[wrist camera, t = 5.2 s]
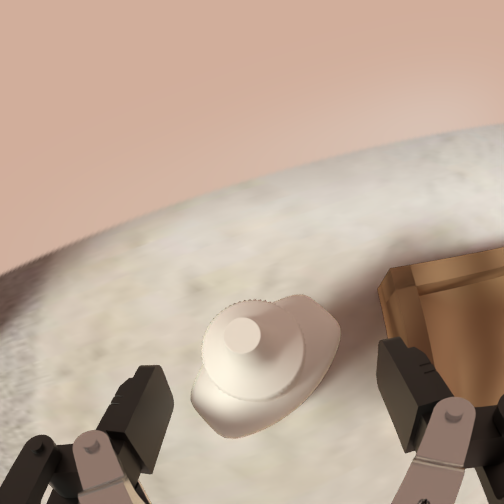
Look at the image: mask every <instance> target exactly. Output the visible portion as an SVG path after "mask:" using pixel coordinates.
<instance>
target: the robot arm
mask: <svg viewBox="0 0 504 504" xmlns="http://www.w3.org/2000/svg"><path fill="white" fill-rule="evenodd" d="M376 376H377V384H378V388H379V391H380V393H381V395H382V398H383V400H384V402H385V405H386V407H387V410H388V412H389V414H390V417H391V419H392V422H393V424H394V427H395V429H396V432H397V434H398V437H399V439H400V442H401V444H402V447H403V450H404V452H405V453H408V452H412V451H416V456H415V458H414V459H413V461H412V463H411V465H410V467H409V469H408V471H407V474H406V476H405V478H404V480H403V482H402V484H401V486H400V488H399V490H398V492H397V494H396V495H395V497H394V499H393V501H392V503H391V504H454V503H455V500H456V497H457V494H458V492H459V489H460V486H461V483H462V479H463V476H464V472H465V469H466V468H474V467H475V470H476V472H477V475H478V477H479V479H480V482H481V484H482V487H483V489H484V492H485V495H486V497H487V500H488V502H489V504H504V394H503V395H502V396H501V397H500V399H499V401H498V404H497V405H492V406H484V407H474V406H473V405H472V404H471V403H470V402H469V401H468V400H466V399H464V398H460V397H454V395H453V394H452V392H451V391H450V389H449V388H448V386H447V385H446V383H445V382H444V380H443V379H442V377H441V376H440V374H439V373H438V371H436V368H435V367H434V365H433V364H431V361H430V360H429V358H428V357H427V355H426V354H425V353H424V352H422V351H421V350H419V349H417V348H416V347H410V348H408V347H407V346H406V344H405V343H404V341H403V340H402V338H401V337H399V336H398V337H394V338H389V339H384V340H380V341H379V345H378V360H377V373H376ZM173 408H174V400H173V395H172V393H171V390H170V388H169V385H168V383H167V380H166V377H165V375H164V372H163V370H162V368H161V366H159V365H141V366H139V368H138V369H137V371H136V373H135V375H134V377H133V378H129V379H128V380H126V381H125V382H124V383H123V384H122V385H121V386H120V387H119V389H118V391H117V392H116V394H115V397H114V398H113V399H112V401H111V405H109V407H108V408H107V410H106V412H105V414H104V416H103V417H102V419H101V421H100V423H99V425H98V427H97V428H96V430H92V431H87V432H85V433H83V434H81V435H80V436H79V437H78V438H77V439H76V440H75V441H74V444H66V445H56V444H55V443H54V441H53V440H52V439H51V438H50V437H49V436H47V435H38V436H35V437H33V438H31V439H30V440H28V441H27V442H26V444H25V445H24V447H23V449H22V450H21V452H20V454H19V455H18V457H17V459H16V460H15V462H14V464H13V466H12V467H11V469H10V471H9V473H8V474H7V476H6V478H5V480H4V482H3V483H2V485H1V487H0V504H41V499H42V497H43V495H44V493H45V490H46V488H47V486H48V484H49V485H50V486H51V487H52V488H53V490H52V492H51V495H50V497H49V499H48V501H47V504H152V503H151V501H150V499H149V497H148V496H147V494H146V492H145V490H144V488H143V486H142V484H141V482H140V481H139V480H138V479H139V476H140V473H146V474H152V473H153V470H154V467H155V464H156V460H157V457H158V454H159V451H160V448H161V445H162V442H163V439H164V436H165V433H166V430H167V427H168V424H169V421H170V418H171V415H172V412H173Z"/></svg>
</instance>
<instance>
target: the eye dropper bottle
mask: <svg viewBox="0 0 504 504" xmlns="http://www.w3.org/2000/svg"><path fill="white" fill-rule="evenodd" d="M207 328H208V330H206V331H205V333H206V334H205V335H204V336H203V337H204V340H203V341H202V343H203V345H202V346H201V347H202V348H203V349H202V351H201V353H203V354H202V358H203V361H202V363H204V364H203V365H202V367H201V369H200V371H199V373H198V375H197V377H196V380H195V382H194V384H193V388H192V391H191V402H192V404H193V407H194V408H195V410H196V411H197V412H198V413H199V415H200V416H201V417H202V418H203V419H204V420H205V421H206V422H207V424H208V425H209V426H210V427H211V428H212V429H213V430H214V431H215V432H216V433H217V434H219V435H221V436H223V437H224V438H234V439H236V438H241V437H245V436H248V435H251V434H254V433H256V432H259V431H261V430H264V429H266V428H268V427H270V426H272V425H273V424H275V423H277V422H279V421H280V420H282V419H283V418H285V417H286V416H288V415H289V414H290V413H291V412H293V411H294V410H295V409H296V408H298V407H299V406H300V405H301V404H302V403H303V402H304V401H305V400H306V399H307V398H308V397H309V396H310V395H311V394H312V392H313V391H314V390H315V389H316V387H317V386H318V385H319V383H320V382H321V381H322V379H323V377H324V376H325V374H326V373H327V371H328V369H329V367H330V365H331V363H332V361H333V359H334V357H335V354H336V352H337V349H338V346H339V342H340V338H341V328H340V326H339V324H338V322H337V321H336V319H335V318H334V317H333V316H332V315H331V314H330V313H328V312H327V311H326V310H325V309H324V308H323V307H322V306H320V305H319V304H318V303H317V302H316V301H314V300H313V299H312V298H310V297H308V296H305V295H293V296H289V297H286V298H283V299H280V300H278V301H275V302H273V303H271V302H267V301H266V300H265V301H261V299H260V300H258V301H257V300H256V299H254V300H253V301H252V300H248V301H246V300H244V301H243V302H240V301H239V302H238V303H234V304H233V306H232V305H230V306H229V307H228V308H225V309H224V311H221V312H220V314H217V316H216V317H215V318H213V321H212V322H210V326H208V327H207Z"/></svg>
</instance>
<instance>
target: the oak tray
mask: <svg viewBox="0 0 504 504" xmlns="http://www.w3.org/2000/svg"><path fill="white" fill-rule="evenodd" d="M377 290H378V294H379V298H380V303H381V307H382V312H383V316H384V321H385V326H386V331H387V336H388V339H389V338H394V337H398V336H399V337H401V338H402V340H403V341H404V343H405V344H406V346H407V347H408V348H410V347H416V348H417V349H419V350H421V351H422V352H424V353H425V354H426V355H427V357H428V358H429V360H430V361H431V364H433V365H434V367H435V368H436V371H438V373H439V374H440V376H441V377H442V379H443V380H444V382H445V383H446V385H447V386H448V388H449V389H450V391H451V392H452V394H453V395H454V397H460V398H464V399H466V400H468V401H469V402H470V403H471V404H472V405H473V406H474V407H484V406H492V405H497V404H498V401H499V399H500V397H501V396H502V395H503V394H504V247H502V248H497V249H492V250H487V251H482V252H477V253H472V254H467V255H461V256H456V257H451V258H446V259H440V260H435V261H429V262H424V263H418V264H412V265H407V266H401V267H395V268H390V269H389V271H388V272H387V274H386V276H385V278H384V279H383V281H382V283H381V284H380V286H379V287H378V289H377Z"/></svg>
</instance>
